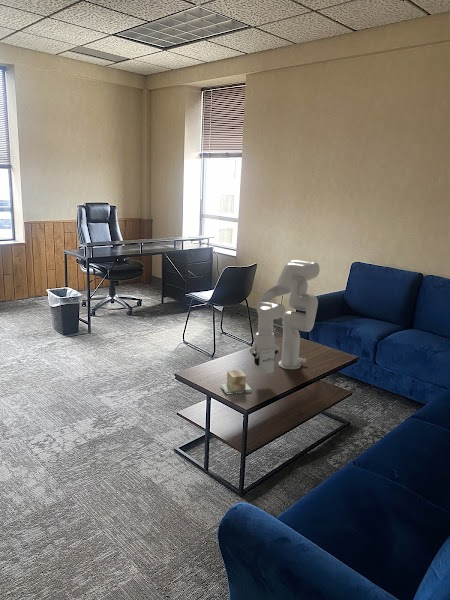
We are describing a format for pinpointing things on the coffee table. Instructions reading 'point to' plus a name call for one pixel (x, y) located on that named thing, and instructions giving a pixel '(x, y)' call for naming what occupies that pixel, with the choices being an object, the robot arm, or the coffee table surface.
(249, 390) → the sage board
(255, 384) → the coffee table surface
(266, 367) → the supplement box
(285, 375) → the coffee table surface
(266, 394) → the coffee table surface
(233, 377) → the beech block
